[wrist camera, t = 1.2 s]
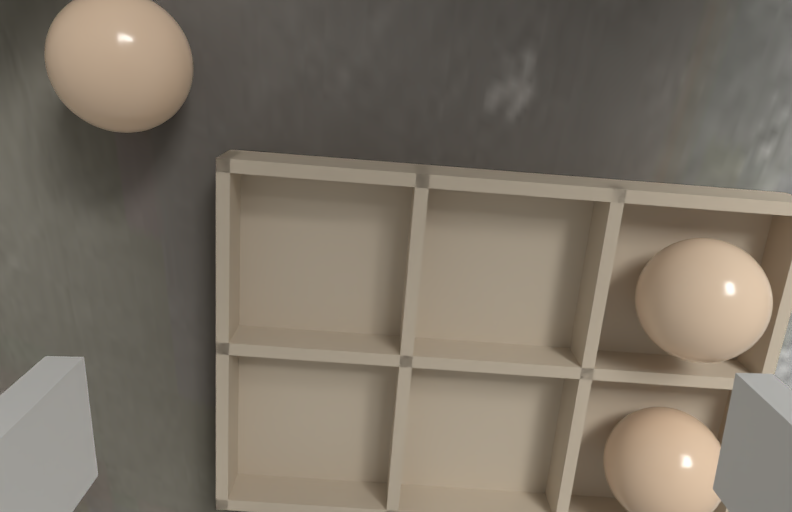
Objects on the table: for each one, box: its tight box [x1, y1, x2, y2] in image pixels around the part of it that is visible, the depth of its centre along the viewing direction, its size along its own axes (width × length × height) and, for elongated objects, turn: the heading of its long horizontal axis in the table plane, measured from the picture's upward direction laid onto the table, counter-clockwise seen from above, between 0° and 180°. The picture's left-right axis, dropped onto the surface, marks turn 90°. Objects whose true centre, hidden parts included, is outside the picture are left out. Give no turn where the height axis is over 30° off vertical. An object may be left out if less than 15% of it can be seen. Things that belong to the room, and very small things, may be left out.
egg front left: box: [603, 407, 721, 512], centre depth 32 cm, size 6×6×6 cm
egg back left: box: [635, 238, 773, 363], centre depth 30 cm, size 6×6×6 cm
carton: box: [216, 150, 792, 512], centre depth 32 cm, size 18×26×3 cm
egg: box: [44, 0, 194, 133], centre depth 27 cm, size 6×6×6 cm
